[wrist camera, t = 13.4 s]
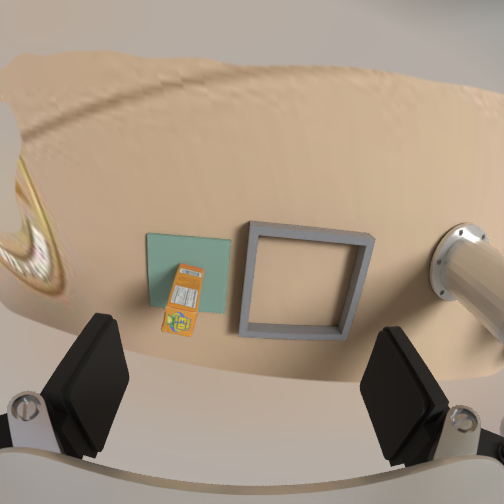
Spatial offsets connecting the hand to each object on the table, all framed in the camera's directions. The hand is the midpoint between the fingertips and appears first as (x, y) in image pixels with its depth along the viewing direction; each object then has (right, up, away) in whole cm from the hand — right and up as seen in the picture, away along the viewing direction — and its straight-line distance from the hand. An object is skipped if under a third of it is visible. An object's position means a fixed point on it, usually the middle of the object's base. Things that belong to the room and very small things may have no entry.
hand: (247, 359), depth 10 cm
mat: (-8, +1, +27) cm, 28 cm away
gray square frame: (+7, 0, +28) cm, 29 cm away
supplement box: (-7, +1, +27) cm, 28 cm away
